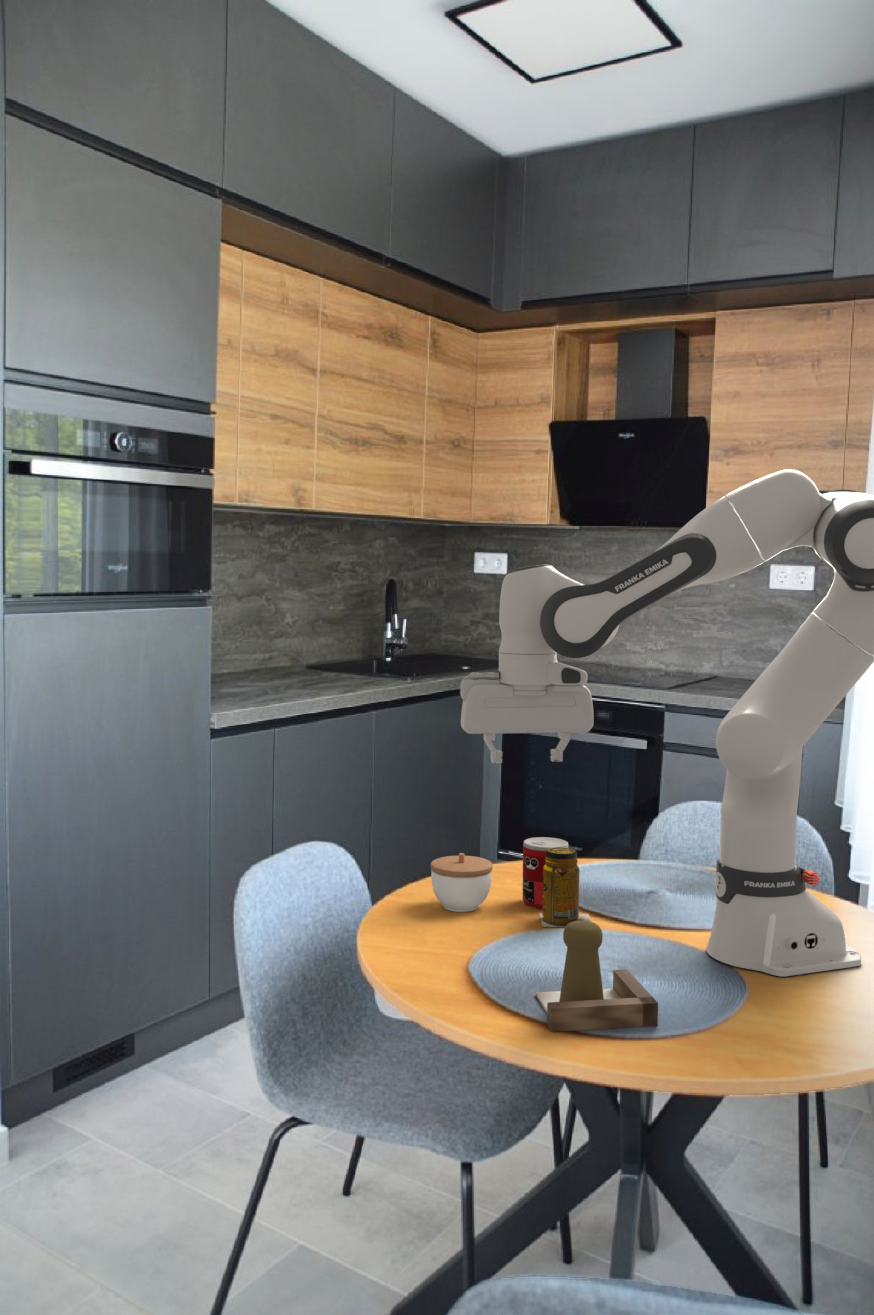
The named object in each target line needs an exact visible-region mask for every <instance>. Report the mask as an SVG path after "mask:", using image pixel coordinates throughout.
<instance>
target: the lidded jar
mask: <svg viewBox="0 0 874 1315" xmlns="http://www.w3.org/2000/svg"><path fill="white" fill-rule="evenodd" d="M430 870H431V873H430V874H431V875H430V876H431V885H432V890H433V894H434V895H435V897H436V899H437V900H438V901H439V903H440V904H441V905H443V908H444V909H445V910H448V911H450V912H455V913H456V912H457V913H468V912H474V911H476V910H478V909H479V906H481V905H482V904H483V903H484V902H485V901H486V899H487V897H488V895H489V893H490V890H491V887H492V886H491V885H492V877H493V876H492V874H493V873H492V872H493V863H492V861H491V860H489V859H487V858H484V857H479V856H473V855H465V853H463V852H460V853H458V855H447V856H442V857H438V858H435V859H433V860H431V862H430Z"/></svg>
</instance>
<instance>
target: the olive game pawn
mask: <svg viewBox="0 0 874 1315" xmlns="http://www.w3.org/2000/svg"><path fill="white" fill-rule="evenodd" d="M563 928H564V930H563V934H562V936H563V938H562V939H563V943H564V945H565V946H566V947H567V948H566V952H565V953H566V954H565V960H564V961H565V962H564V969H563V973H562V974H563V975H562V982H561V987H560V991H561V993H560V1000H559V1002H566V1001H585V1000H603V999H604V996H603V989H604V988H603V981H602V972H601V964H600V963H601V962H600V954H599V949H600V947H601V946H602V944H603V930H602V928H601V927H600V926H599V924H597V923H595V922H593V921H591V922H590V921H573V922H570V923H568V924H567V925H566V927H563Z"/></svg>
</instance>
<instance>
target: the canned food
mask: <svg viewBox="0 0 874 1315" xmlns="http://www.w3.org/2000/svg"><path fill="white" fill-rule="evenodd" d="M522 843H523V844H522V901H523V904H524V905H526V906H528V907H530V908H533V909H537V910H538V909H539V910H543V867H544V865H545V864H546V862H545V859H546V854H545V853H546V851H547V850H548V849H550V848H555V847H564V848H569V841H566V840H564V839H561V838H557V837H548V836H547V837H545V836H541V837H540V836H539V837H537V836H536V837H530V838H529V837H528V838H527V839H525V840H523V842H522Z"/></svg>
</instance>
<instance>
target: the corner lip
mask: <svg viewBox="0 0 874 1315" xmlns="http://www.w3.org/2000/svg"><path fill="white" fill-rule="evenodd" d="M612 970H613V972H612V988H610V987H609V988H603V996H604V999H603V1000H585V1001H566V1002H559V1000H560V993H561V990H557V991H556V990H555V991H536V992H535V996H536V999H537V1000H538V1002H539V1003H540V1005H541V1007H542V1008H543V1009H544V1011H545V1013H546V1025H547V1027H548V1029H549V1031H550V1032H551V1033H556V1032H557V1033H558V1032H572V1031H573V1032H574V1031H589V1030H590V1031H591V1030H592V1031H593V1030H606V1029H608V1030H609V1029H624V1028H625V1029H626V1028H639V1027H641V1028H642V1027H657V1026H659V1025H658V1024H659V1023H658V1022H659V1002H658V1001H657V1000H656V999H655V998H654V997H653V996H652V995H651V993H650V992H649V991H648V990H647V989H646V988H645V987H644V986H643V985H642V984H641V982H639V980H638V979H637V978H636V977H635V976H634V975H633V974H632V972H631V971H629V969H628V968H626V969H612Z"/></svg>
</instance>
